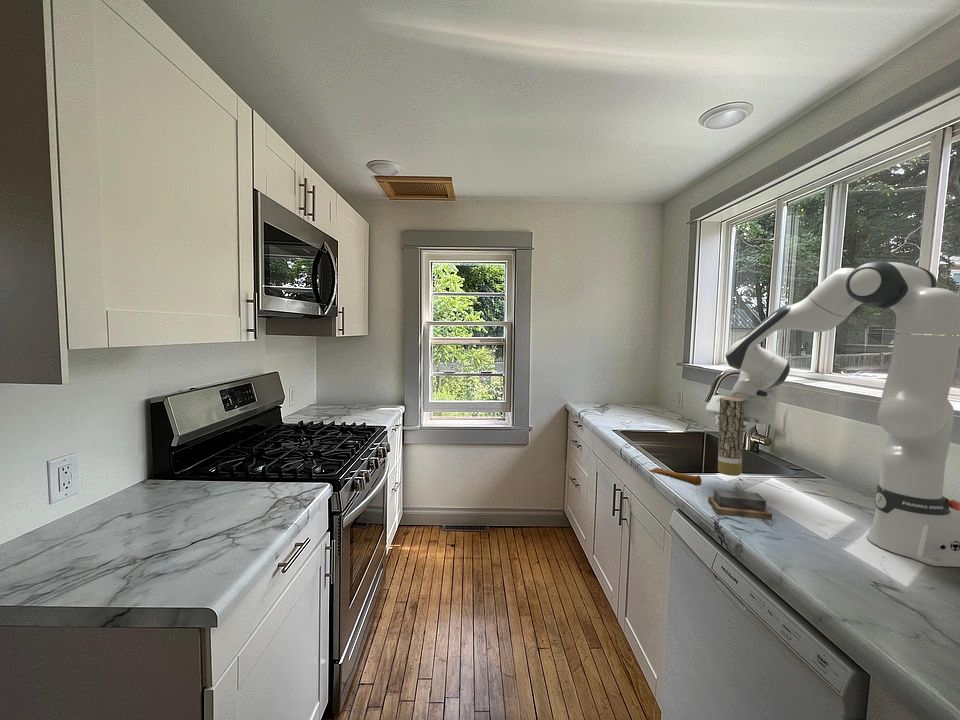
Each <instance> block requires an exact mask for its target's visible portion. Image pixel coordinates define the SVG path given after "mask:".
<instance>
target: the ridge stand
mask: <svg viewBox="0 0 960 720" xmlns="http://www.w3.org/2000/svg"><path fill="white" fill-rule="evenodd" d="M707 501H708V503H709V502H710V503H709V504H710V505H711V507H712V508H713V509H714V511H715V512H716V513H718V515H725V514H726V516H734V515H737V517H744V516H746V517H745V518H754V517H755V519H763V518H764V519H763V520H772V519H773V513H771V512H770V510H769V509H768V508H767V500H765V498H763V496H762V495H760V494H759V493H757V492H746V491H737V490H734V491H733V490H724V489H714V490H713V496H708V499H707Z"/></svg>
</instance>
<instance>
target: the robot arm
mask: <svg viewBox="0 0 960 720" xmlns="http://www.w3.org/2000/svg"><path fill="white" fill-rule="evenodd" d="M861 304H864V305H868V306H873V307H875V308H880V309H884V310H885V309H891V310H892V312H894V314H895V319H896V323H895V329H894V339H893V343H892V344H893V345H892V350H891V351H892V352H891V360H890V365H889V370H888V373H887V376H886V379H885V383H884V386H883V391H882V394H881V398H880V403H879V407H878V410H877V414H876V415H877V416H876V417H877V421H878V424H879V425H880V427H881V428H882V429H883V430H884V431H885V432H887V436H886V441H885V444H884V448H883V450H882V452H881V453H882V454H881V456H880V457H881V458H880V459H881V460H880V469H879V471H880V472H879V484H877V485H876V491H875V492H876V493H875V508H876V509H875V513H874V516H873V521H872V524H871V526H870V529H869V530H868V533H867V534H866V538H867V540H868V541H870V542H871V543H872V544H874V545H875V546H877V547H880V548H881V549H884V550H886V551H889V552H891V553H894V554H897V555H900V556H903V557H906V558H907V557H908V558H911V559H914V560H916V561H919V562H921V563H924V564H927V565H929V566H934V567H952V568H953V567H954V568H960V519H959V518H958V517H957V516H955V514H952V513H951V510H950V508H951V509H952V510H954V511H957V512H960V501H959V502H958V501H957V500H954V499H951V500H950V499H949V498H947V497H945V496H943V495H944V483H945V479H944V478H945V470H946V463H947V457H948V455H949V454H948V452H949V448H950V441H951V439H952V437H951V436H952V430H953V424H954V418H955V410H954V409H955V408H954V407H953V404H952V403H951V402H950V400H949V399H948V398H949V394H950V391H951V386H952V383H953V379H954V376H955V373H956V370H957V363H958V358H959V357H958V355H959V349H960V297H959V295H958V294H957V293H956V292H954V291H952V290H950V289H947V288H942V287H938V281H937V277H936V276H935V275H934V274H933V273H932V272H931V271H929V270H928V269H926V268H924V267H922V266H921V267H920V266H917V265H910V264H906V263H902V262H895V261H894V262H893V261H890V262H889V261H871V262H868V263H864V264H862V265H860V266H858V267H856V268H855V267H853V268H852V267H842V268H839V269H837V270H835V271H834V272H832V273H831V274H830V275H829V276H827V277H826V278H825V279H824V280H823V281H822V282H821V283H819V284H818V285H817V286H816V287H815V288H814V289H813V290H812V291H811V292H810V293H809V294H808V296H806V297H805V298H804V299H802V300H800V301H798V302H796V303H792V304H784V305H783V306H781V307H779V308H778V309H776V310H775V311H774V312H772V313H771V314H770V315H769V316H767V317H766V318H765V319H763V320H762V321H761V322H760V323H759V324H757V326H754V328H752V329H751V330H750V331H749V332H747V334H745V335H743V337H741V338H739V339H738V340H737V341H735V342H734V343H732V345H730V347H729V348H728V349H727V351H726V353H725V354H724V355H725V359H726V363H727V364H728V366H729V367H731V368H733V369H736V370H738V371H740V373H739V374H738V379H737V381H736V382H735V384H734V386H733V388H732V390H731V391H730V394H723V393H717V394H714V395H712V396H711V398H710V400H709V401H708V403H707V404H706V406H705V409H704V410H705V412H706V414H707V416H708V417H710V418H715V420H716V422H715V424H714V425H715V427H716V428H718V429H719V415H720V398H721V397H722V396H731V397H741V398H744V421H743V423H746V424H743V427H742V431H743V433H747V434H748V433H749V431H750V429H752V428H754V427H756V425H757V424H758V425H763V426H764V425H766V426H770V425H772V424H773V423H774V421H775V418H776V415H777V414H776V407H777V403H776V400H775V398H774V396H773V394H772V393H771V392H768V391H766V390H765V389H771V388H775V387H778V386H780V385H782V384H783V383H784V382H785V381H786V379H787V378H788V376H789V373H790V372H791V367H790V363H789V361H788V360H787V359H786V358H784V357H782V356H780V355H778V354H775V353H774V352H772V351H769V350H767V349H766V348H764V347H761V346H760V345H759V344H760V343H761V342H763V341H764V340H766V339H767V338H768V337H769V336H771V335H772V334H773V333H775V332H777V331H781V330H797V331H803V332H808V333H821V332H828V331H830V330H833V329H834V328H836V327H837V326H839V325H840V324H841V323H842V322H844V321H845V319H847V318H848V316H849V315H850V314H851V313H853V311H854V310H855V309H857V307H859V306H860V305H861Z"/></svg>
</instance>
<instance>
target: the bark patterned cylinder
mask: <svg viewBox="0 0 960 720" xmlns="http://www.w3.org/2000/svg"><path fill="white" fill-rule="evenodd" d="M743 421H744V398H741V397H731V396H722V397H721V398H720V415H719V428H718V450H717V456H718V457H717V471H718V473H720V474H723V475H726V476H730V477H731V476H732V477H737V476H738V477H739V476H740V475H742V468H743V465H742V464H743V445H744V443H743V442H744V438H743V437H744V432H743V431H742V427H743V425H744V422H743Z"/></svg>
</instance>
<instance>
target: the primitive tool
mask: <svg viewBox="0 0 960 720" xmlns="http://www.w3.org/2000/svg"><path fill="white" fill-rule="evenodd" d="M648 472H650V473H654V474H657V475H658V474H659V475H662V474H663V475H662V476H665V475H666V476H665V477H669V476H670V478H674V479H677V480H681V481H684V482H687V481H688V483H692V484H694V485H695V486H699V485H701V484H702V477H701V476H700V475H699V474H698V475H690V474H687V473H682V472H675V471H670V470H667V469H663V468H659V467H655V468H652V469H649V470H648Z"/></svg>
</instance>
